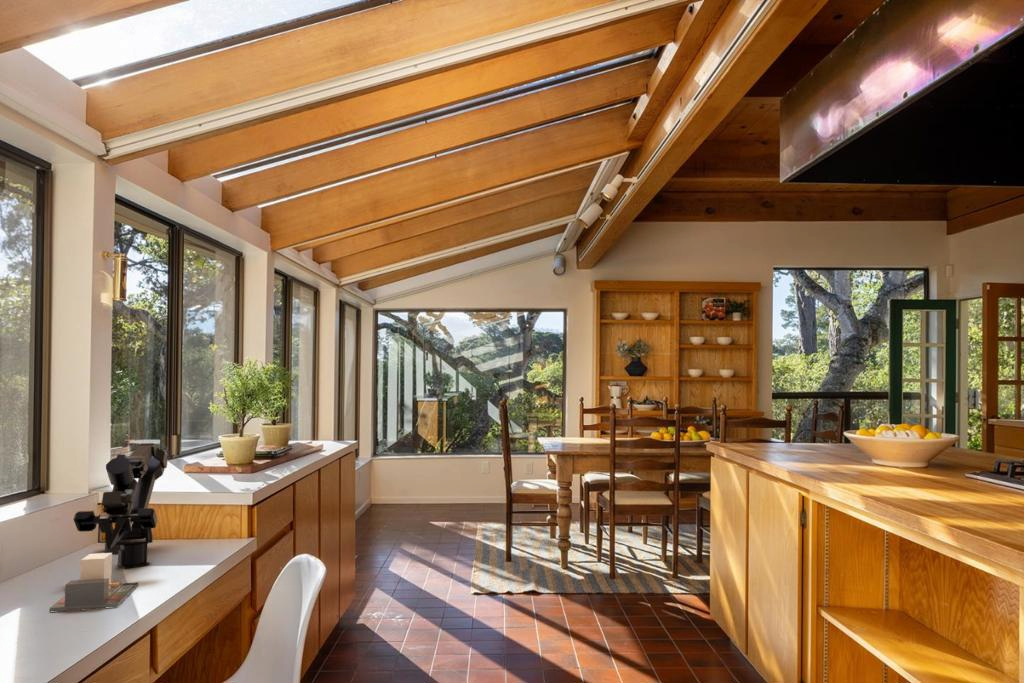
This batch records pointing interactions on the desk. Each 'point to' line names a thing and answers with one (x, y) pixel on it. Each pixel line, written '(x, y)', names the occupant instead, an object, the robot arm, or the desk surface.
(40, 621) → the desk surface
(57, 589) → the desk surface
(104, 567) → the cream box
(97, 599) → the gauge base
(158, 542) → the desk surface
